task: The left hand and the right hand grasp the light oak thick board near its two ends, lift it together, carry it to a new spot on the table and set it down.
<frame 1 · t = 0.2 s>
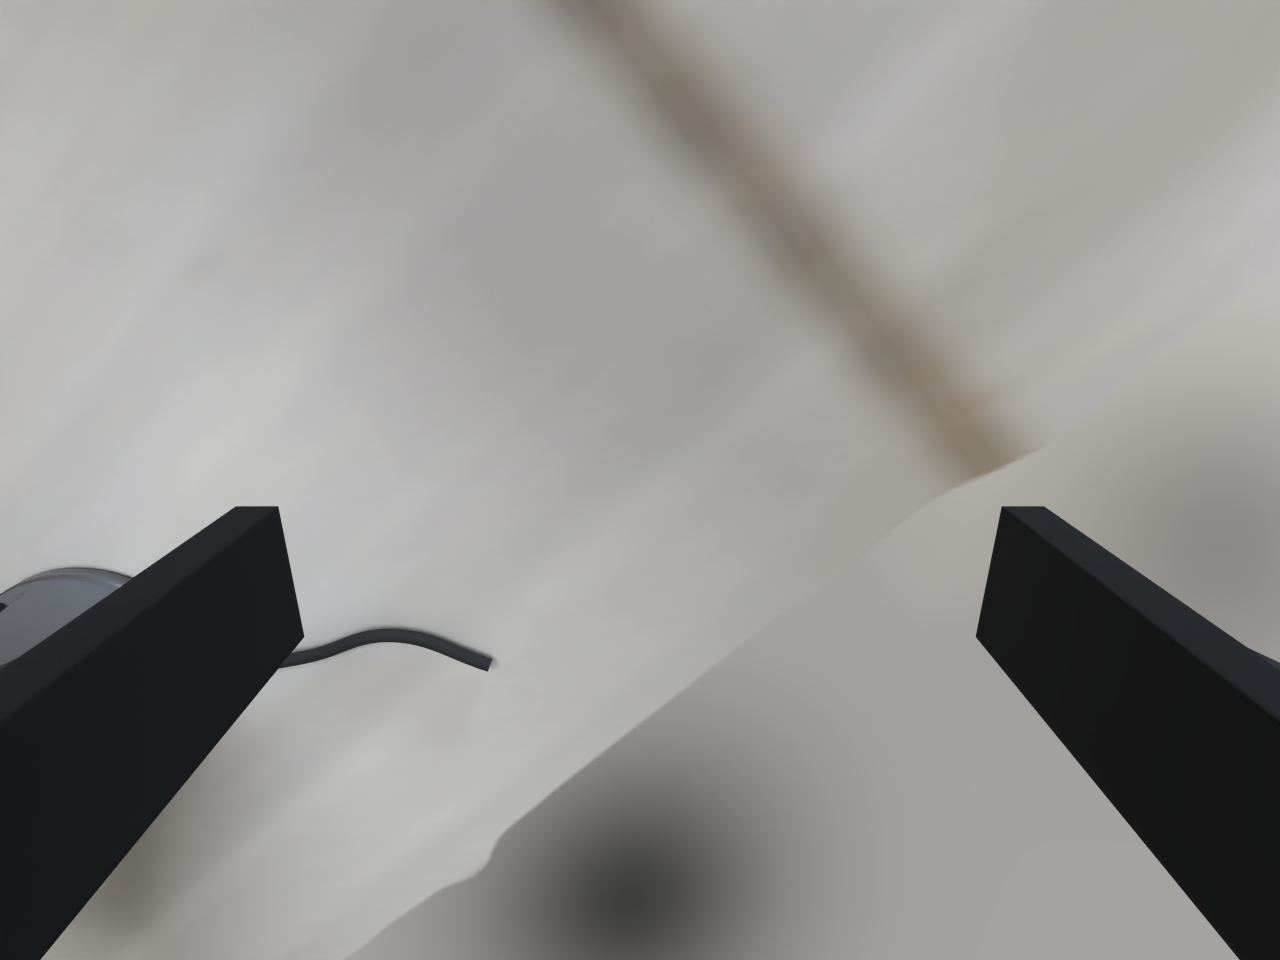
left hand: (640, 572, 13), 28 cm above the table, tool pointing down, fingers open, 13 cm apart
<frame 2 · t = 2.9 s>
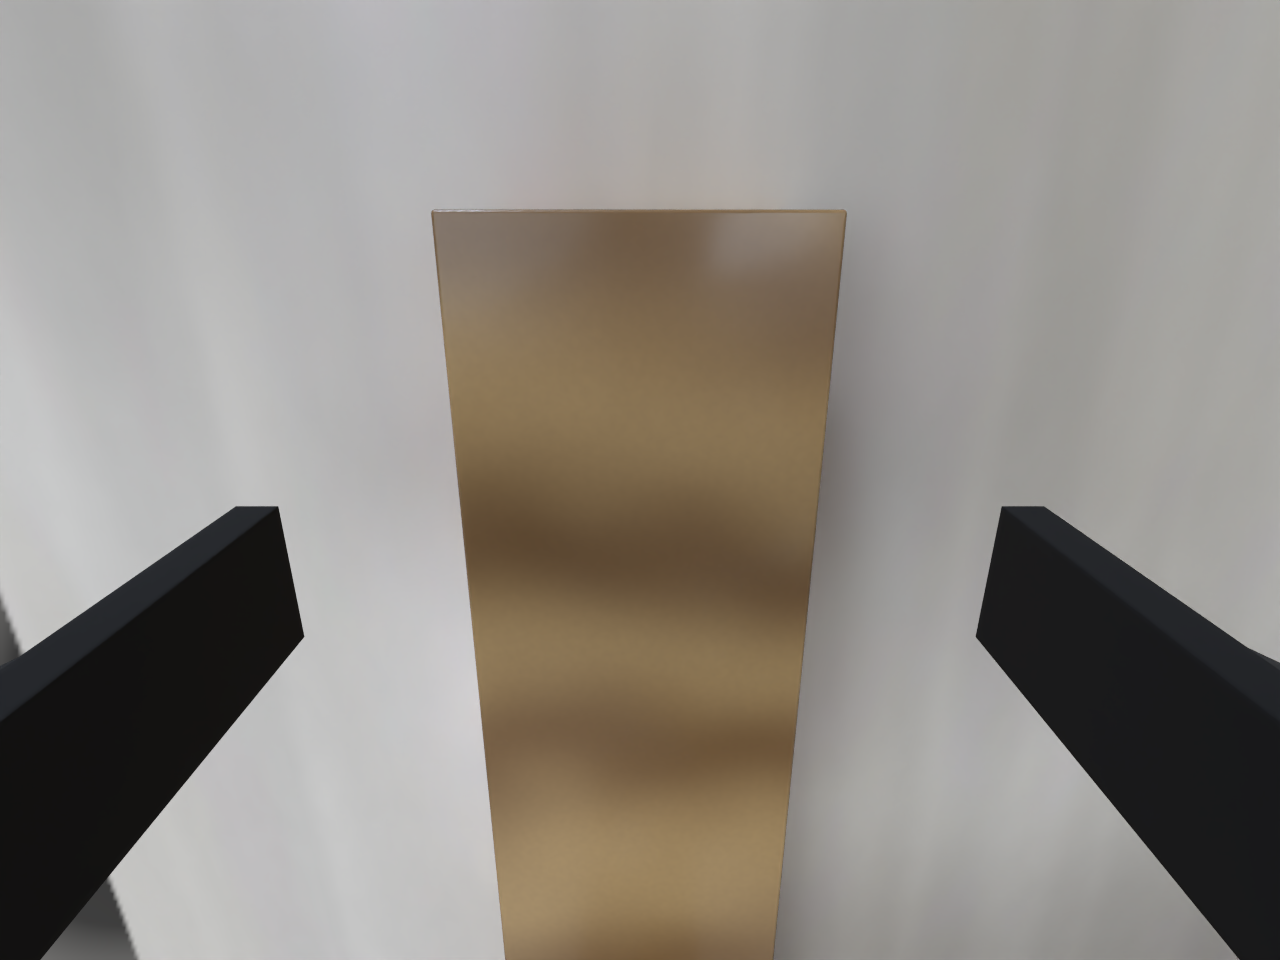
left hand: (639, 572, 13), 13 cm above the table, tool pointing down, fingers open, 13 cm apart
thick board: (639, 803, 31), on the table, touching right hand
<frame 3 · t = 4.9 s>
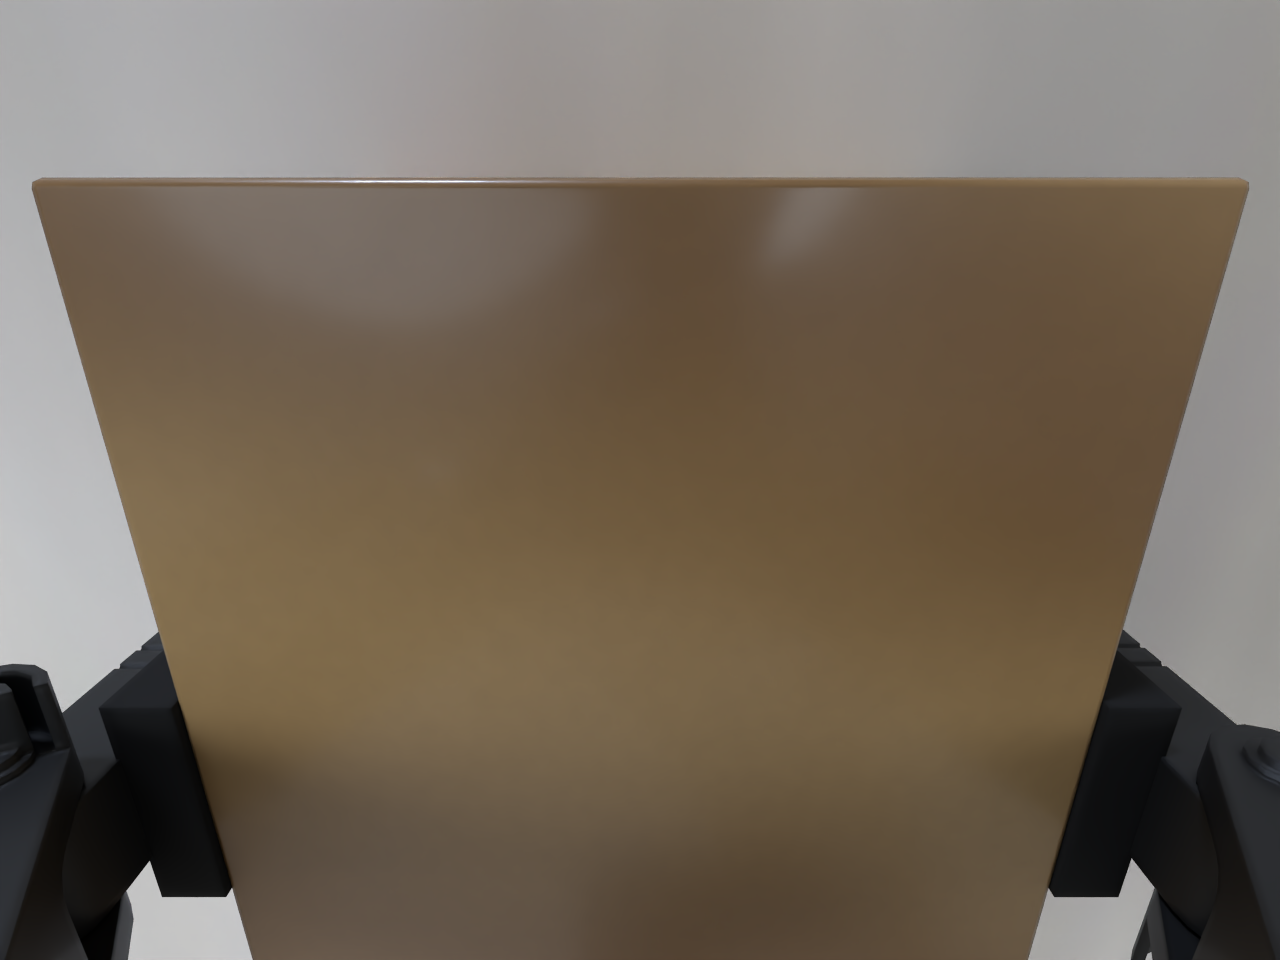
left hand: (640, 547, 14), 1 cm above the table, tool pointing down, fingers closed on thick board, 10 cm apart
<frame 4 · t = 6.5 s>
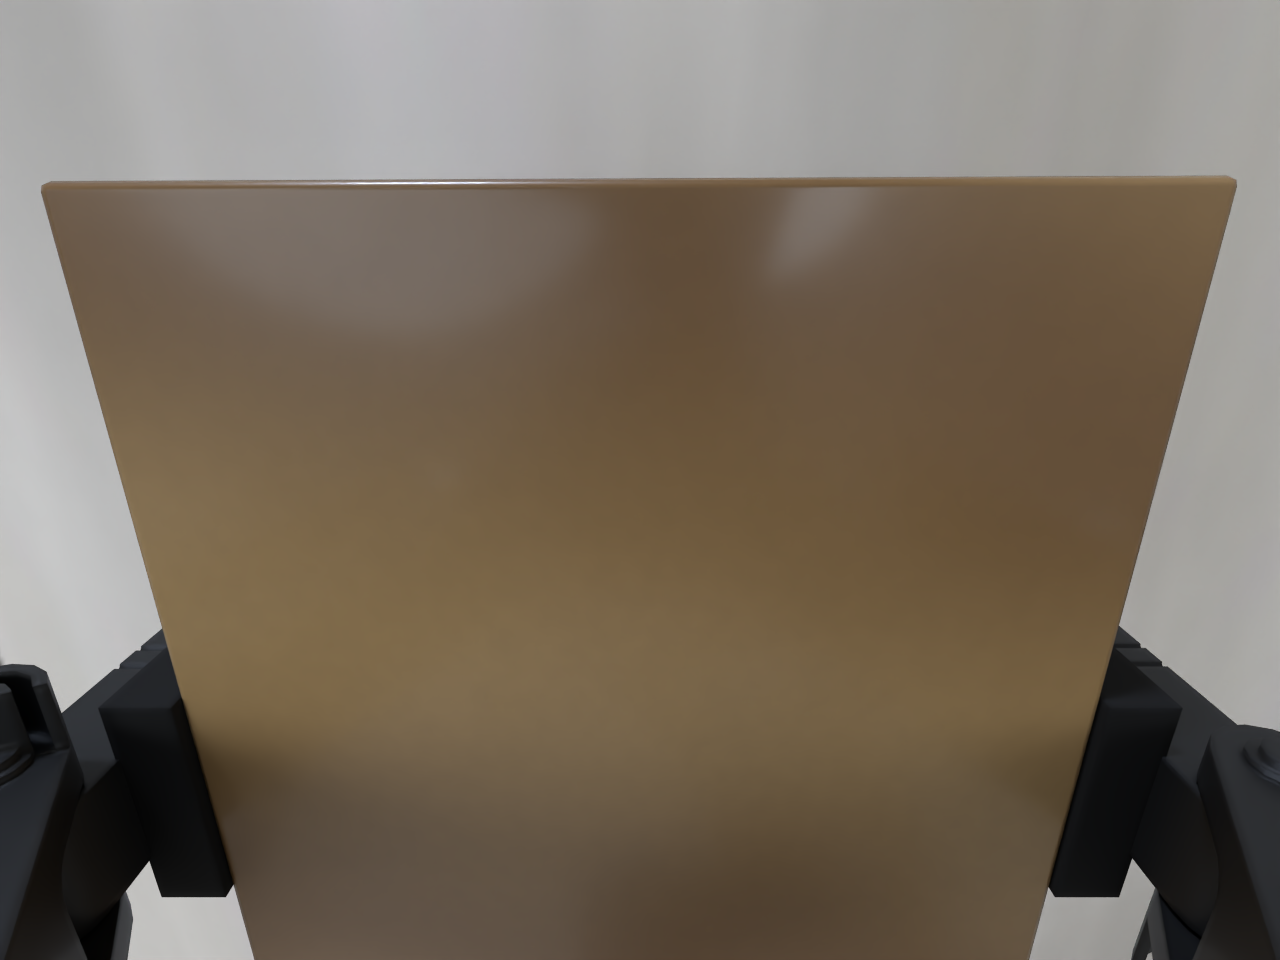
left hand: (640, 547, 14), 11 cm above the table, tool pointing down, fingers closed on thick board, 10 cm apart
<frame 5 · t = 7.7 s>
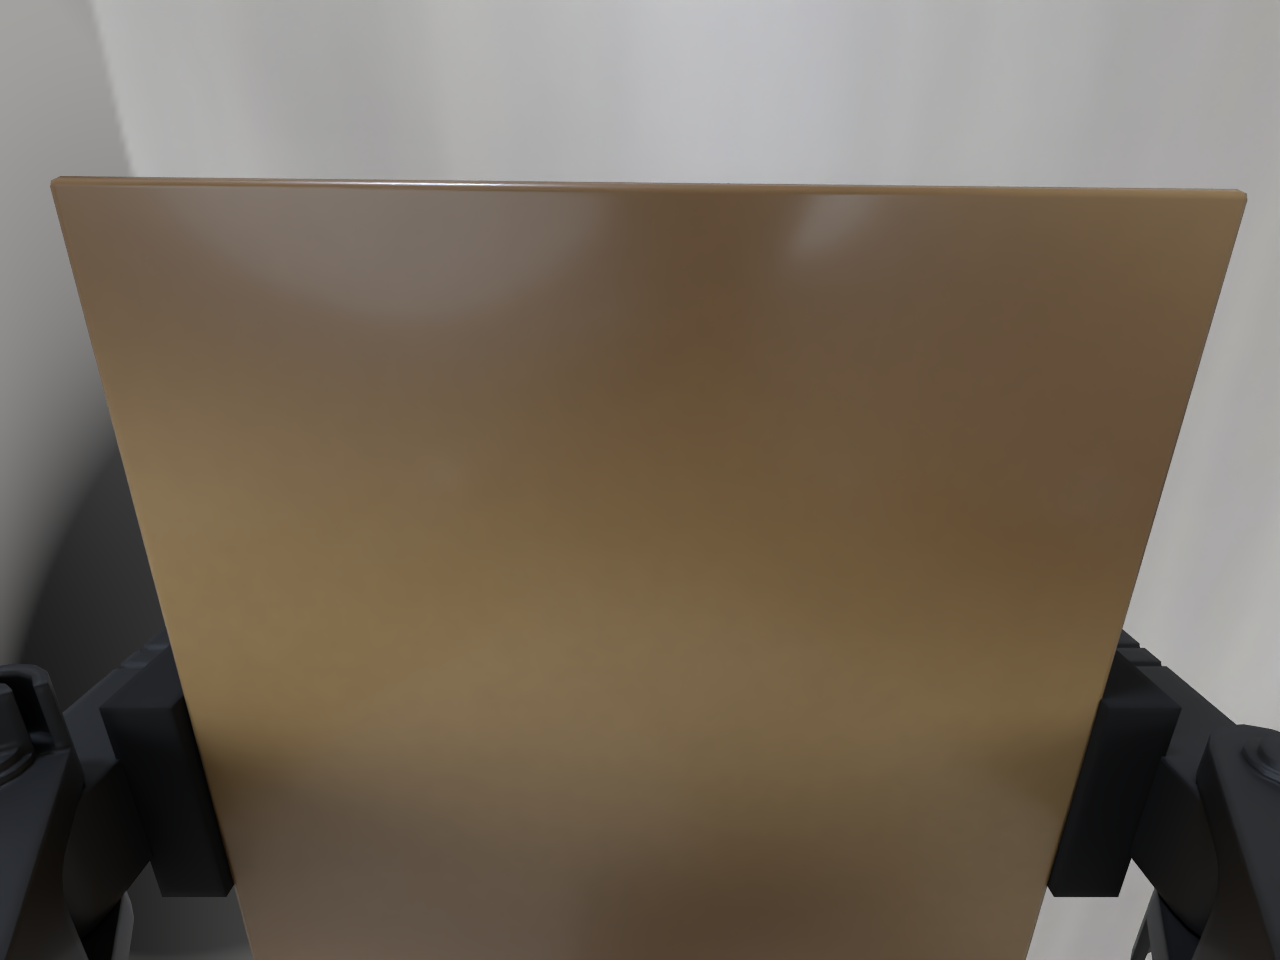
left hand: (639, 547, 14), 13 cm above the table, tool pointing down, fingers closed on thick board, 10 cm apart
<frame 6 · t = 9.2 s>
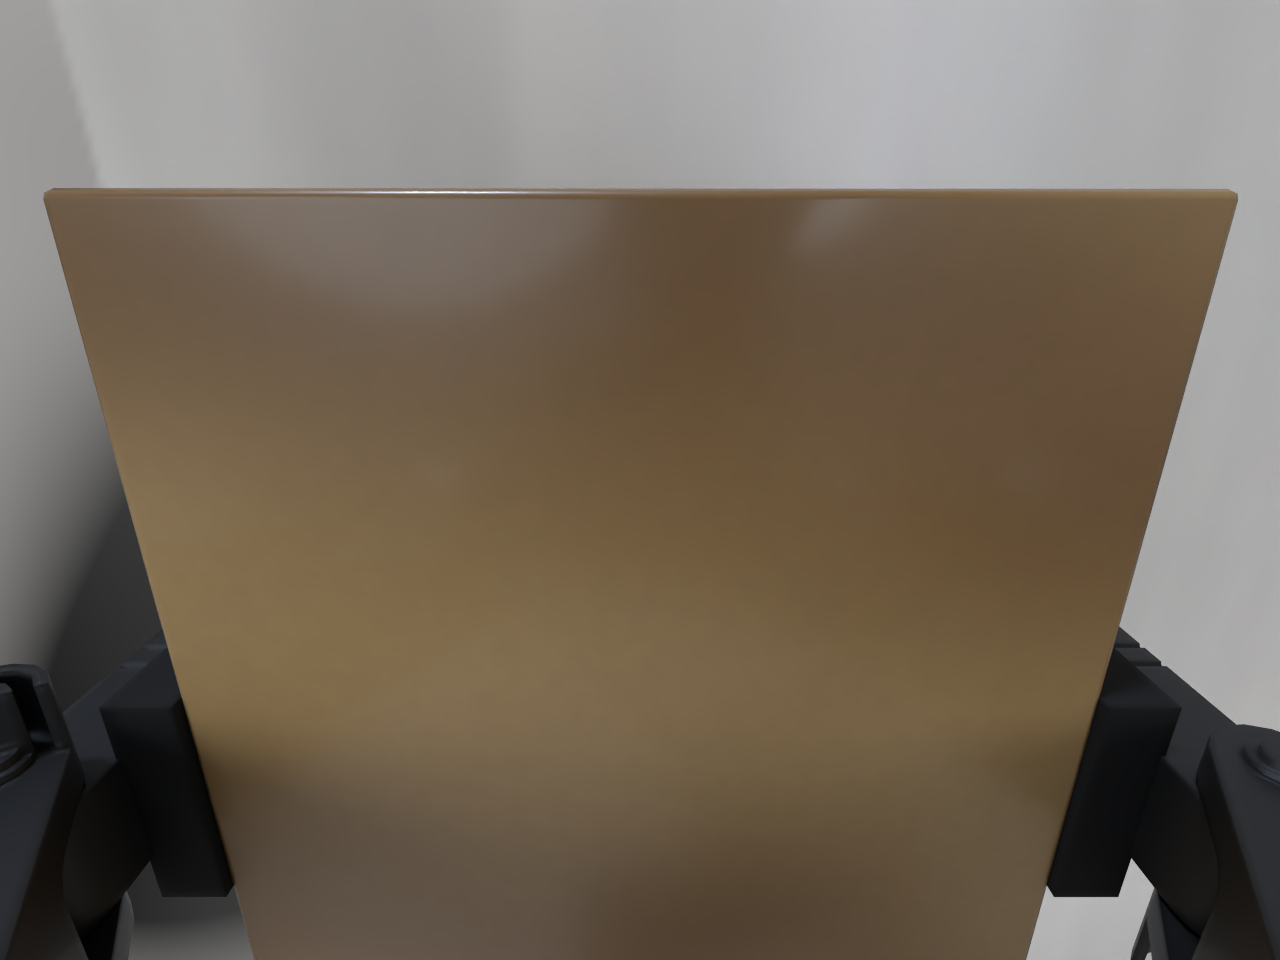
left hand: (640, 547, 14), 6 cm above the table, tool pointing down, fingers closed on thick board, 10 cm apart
when the left hand's fingers open (2 cm above the table, at t = 10.4 s): thick board drops 1 cm, on the table.
when the right hand's fingers open (2 cm above the table, at t = 10.4 s): thick board drops 1 cm, on the table.
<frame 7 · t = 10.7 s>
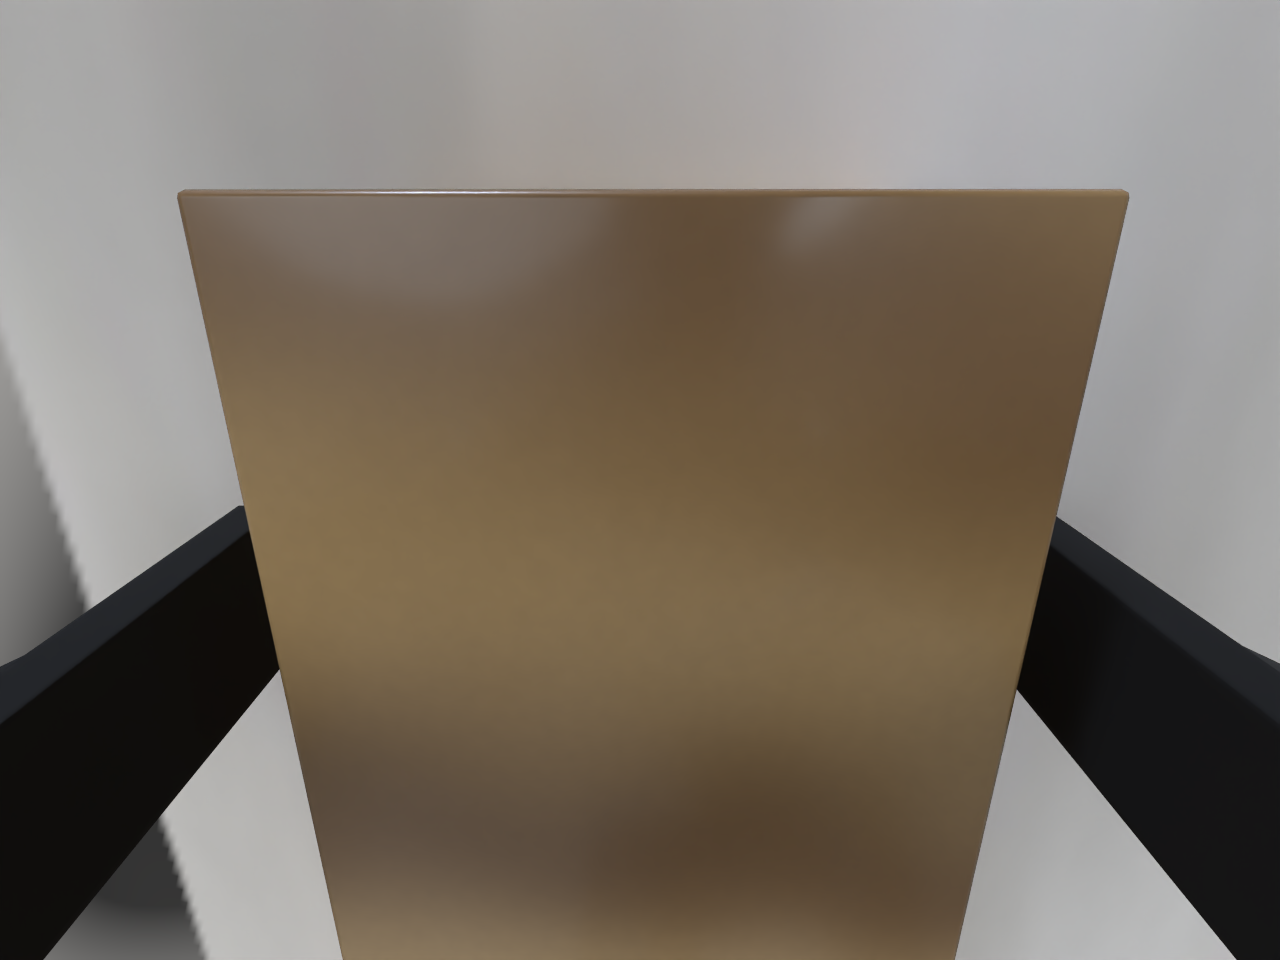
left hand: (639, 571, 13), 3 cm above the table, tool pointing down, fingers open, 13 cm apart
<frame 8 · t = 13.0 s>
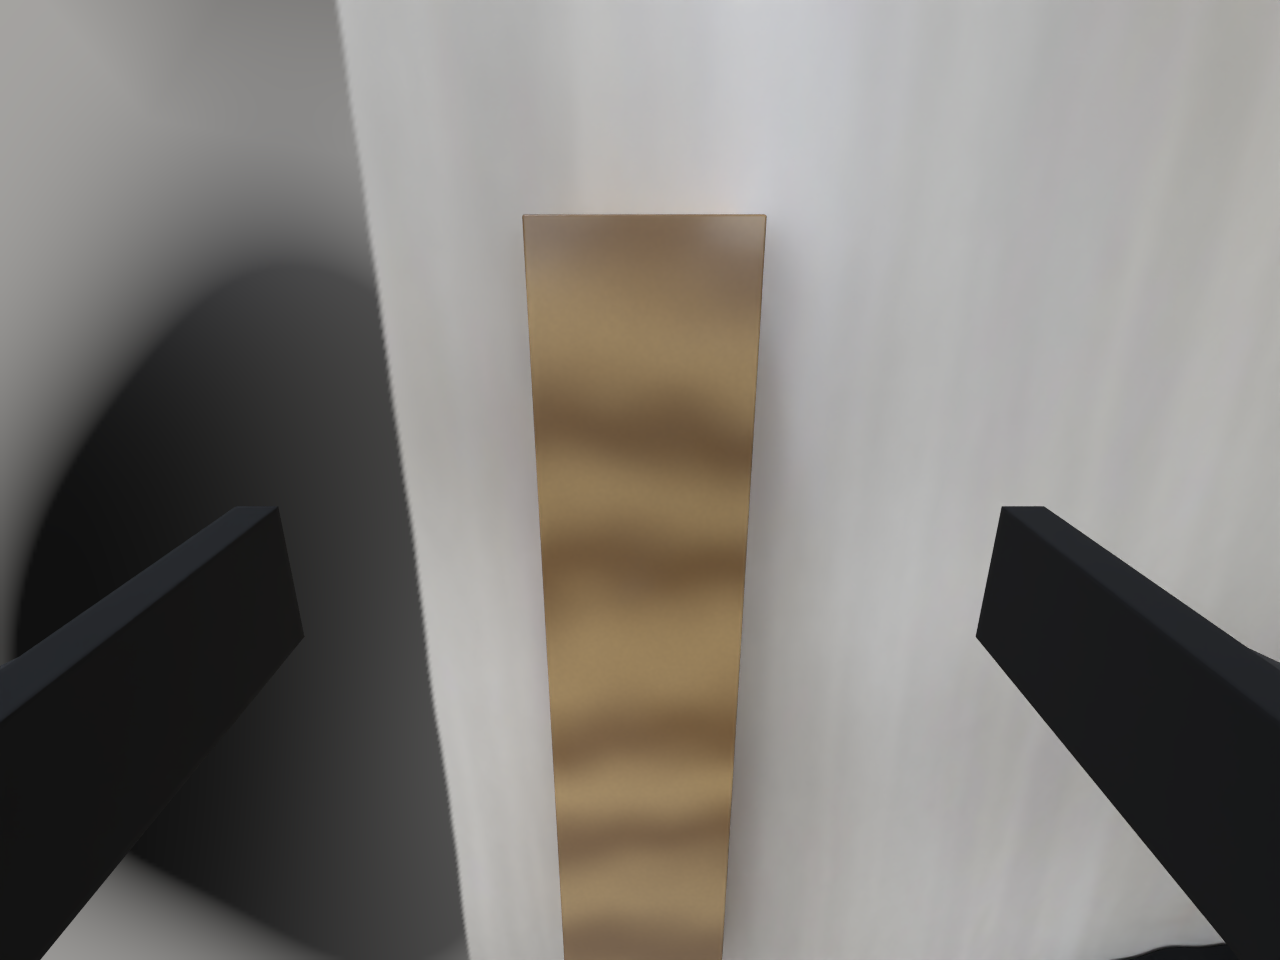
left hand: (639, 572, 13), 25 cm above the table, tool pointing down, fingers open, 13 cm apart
thick board: (642, 649, 42), on the table
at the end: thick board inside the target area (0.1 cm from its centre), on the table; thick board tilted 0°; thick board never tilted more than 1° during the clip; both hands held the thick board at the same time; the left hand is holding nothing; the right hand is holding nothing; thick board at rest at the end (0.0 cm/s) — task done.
